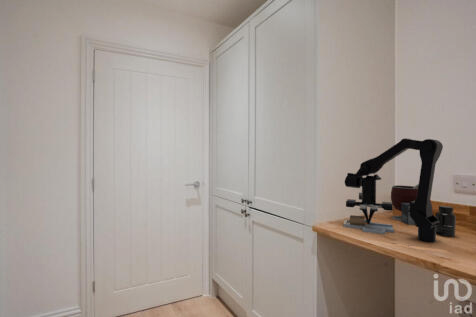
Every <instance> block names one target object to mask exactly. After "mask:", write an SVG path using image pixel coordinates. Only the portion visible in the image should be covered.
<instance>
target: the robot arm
mask: <svg viewBox="0 0 476 317" xmlns="http://www.w3.org/2000/svg"><path fill="white" fill-rule="evenodd" d="M409 149H410V150H415V151H419V158H420V161H421V166H420V172H419V179H418V184H419V185H418V192H417V198H416V200H415V201H412V202H410V209H409V211H408V212H410V217H411V218H412V220H414V222H415V225H414V226H415V227H416V228H417V240H419V241H421V242H424V243H429V244H430V243H431V244H433V243H435V242H437V237H436V236H437V234H436V227H435V226H438V224H439V222H440V221H439V220H438V219H437V218H436V215H434V214H433V213H434V212H433V204H432V200H431V197H432V189H433V183H434V177H435V170H436V165H437V161H438V160H439V158H440V156H441V155H442V152H443V149H444V147H443V143H442V142H441V141H440V140H438V139H432V138H429V139H428V138H426V139H424V140H416V139H411V138H402V139H401V140H400V141H399V142H397V143H396V144H394V145H392V146H391V147H390V148H388V149H386V150H385V151H384V152H382V153H380V154H379V155H378V156H376V157H373V158H370V159H367V160H365V161H363V162H362V163H360V166H359V169H358V170H357V171H356V173H353V172H347V173H346V174H347V175H346V177H345V179H344V185H345V187H347V188H353V189H360V188H361V192H358V200H361V201H357V200H356V199H346V201H345V207H346V208H355V207H359V210H360V211H361V212H362V213H363V216H365V220H366V221H367V224H366V225H369V223H370V221H371V222H372V218H373V216H374V214H375V212H378V211H379V210H378V209H380V208H381V209H383V211H390V212H391V211H393V210H394V206H393V205H392V202H389V201H387V202H386V201H382V202H381V203H378V202H377V181H381V180H382V178H381V177H380V176H379V175H378V174H377V173H378V172H379V171H380V170H381V169H382V168H383V167H384V165H385V164H387V163H389V162H390V161H391V160H393V159H395V158H397V157H398V156H400V155H401V154H403V153H404V152H406V151H407V150H409ZM368 208H369V214H368Z"/></svg>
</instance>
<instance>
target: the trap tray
mask: <svg viewBox="0 0 476 317" xmlns="http://www.w3.org/2000/svg"><path fill="white" fill-rule="evenodd" d="M365 223H367V221H366V219H365ZM342 226H343V227H344V228H351V229H352V228H353V229H360V230H362V233H370V234H379V235H386V233H392V234H394V233H395V229H394V228H393V226H394V225H393V224H387V223H379V222H378V223H377V222H372V220H371V221H370V223H369V224H365V226H357V225H350V219H345V220H344V222H343V224H342Z"/></svg>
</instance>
